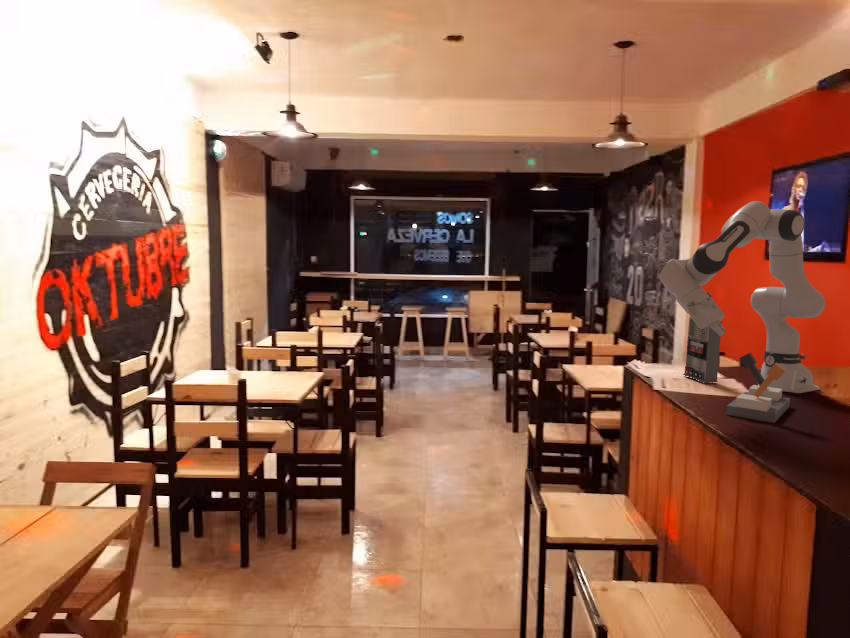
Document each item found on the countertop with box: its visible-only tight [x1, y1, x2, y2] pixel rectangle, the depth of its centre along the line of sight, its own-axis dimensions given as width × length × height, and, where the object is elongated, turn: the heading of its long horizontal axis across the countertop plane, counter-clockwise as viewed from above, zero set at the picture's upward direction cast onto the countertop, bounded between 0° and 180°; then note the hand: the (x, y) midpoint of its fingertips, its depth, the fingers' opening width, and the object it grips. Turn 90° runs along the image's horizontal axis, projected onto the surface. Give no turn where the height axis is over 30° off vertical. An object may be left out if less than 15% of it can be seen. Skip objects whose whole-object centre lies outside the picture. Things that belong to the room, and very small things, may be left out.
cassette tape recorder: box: [683, 316, 723, 384], centre depth 260 cm, size 14×6×25 cm, turn 12°
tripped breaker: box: [753, 362, 787, 398], centre depth 204 cm, size 3×4×12 cm
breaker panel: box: [725, 384, 791, 424], centre depth 214 cm, size 26×14×6 cm, turn 142°
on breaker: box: [738, 352, 765, 385], centre depth 223 cm, size 3×4×12 cm
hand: (723, 334), depth 211 cm, fingers closed
